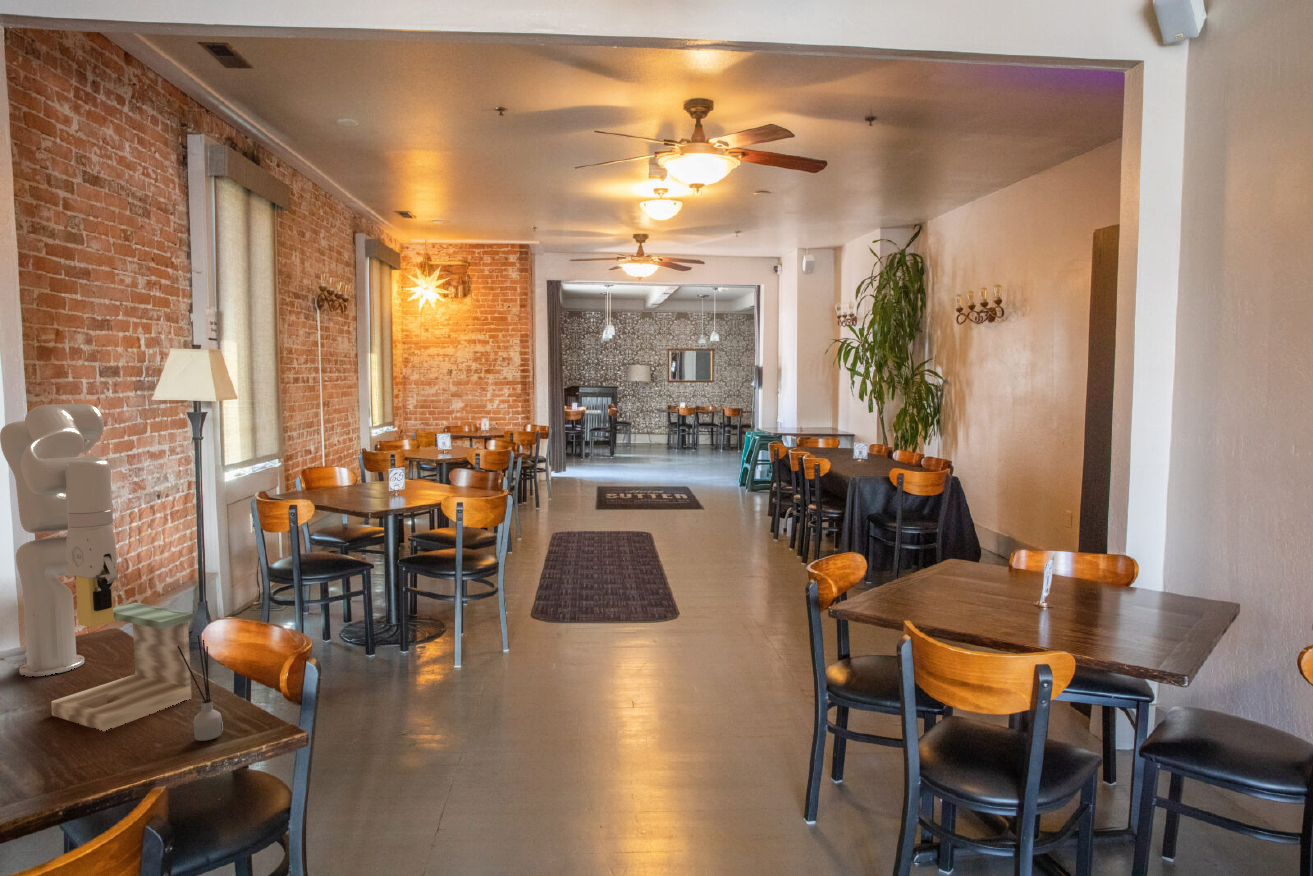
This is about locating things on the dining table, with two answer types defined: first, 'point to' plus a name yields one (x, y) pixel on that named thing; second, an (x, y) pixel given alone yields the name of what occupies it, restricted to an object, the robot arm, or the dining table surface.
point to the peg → (90, 604)
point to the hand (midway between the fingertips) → (95, 607)
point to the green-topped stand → (138, 672)
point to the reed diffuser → (205, 707)
